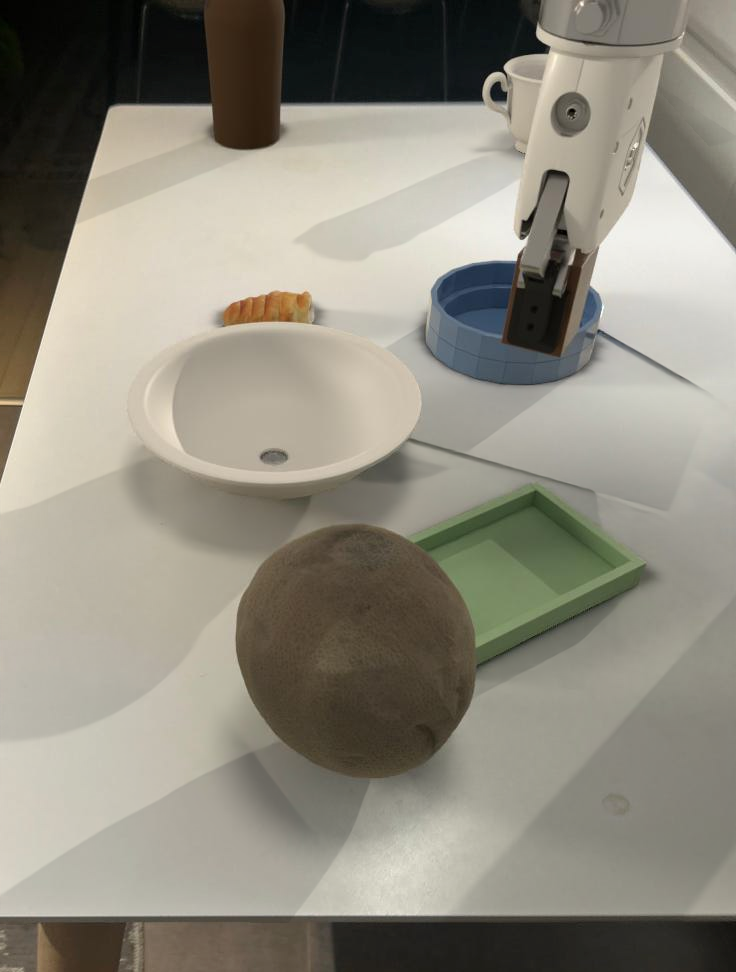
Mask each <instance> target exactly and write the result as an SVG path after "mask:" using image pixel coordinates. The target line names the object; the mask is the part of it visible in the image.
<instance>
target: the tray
mask: <svg viewBox="0 0 736 972" xmlns="http://www.w3.org/2000/svg"><path fill="white" fill-rule="evenodd" d="M405 538H406V539H408V540H410V541H411V542H413V543H415V544H416V545H418V546H419V547H421V548H422V549H423V550H425V551H426V552H427V553H428V554H429V555H430V556H431V557H432V558H433V559H434V560H435V561H436V562H437V563H438V565H439V566H440V567H441V568H442V569H443V571H444V572H445V573H446V574H447V575H448V577H449V578H450V580H451V581H452V582H453V584H454V585H455V587H456V588H457V589H458V591H459V592H460V594H461V596H462V598H463V600H464V602H465V604H466V606H467V608H468V611H469V614H470V617H471V620H472V623H473V627H474V631H475V643H476V665H477V666H479V665H481V664H483V663H485V662H487V661H489V660H491V659H493V658H495V657H497V656H499V655H501V654H503V653H505V652H507V651H509V650H511V649H513V648H515V647H517V646H518V644H519V645H520V643H521V642H523V641H525V640H527V639H529V638H531V637H533V636H535V635H537V634H539V633H540V634H542V633H544V632H546V631H548V630H550V629H552V628H554V627H556V626H558V625H560V624H562V623H564V622H566V621H568V620H570V619H572V618H574V617H576V616H578V615H580V614H582V613H583V611H584V612H586V611H588V610H590V609H592V608H594V607H596V606H597V604H598V605H599V604H601V603H603V601H604V602H606V601H607V600H609V599H612V598H613V597H616V596H617V595H619V594H621V593H623V592H625V591H627V590H629V589H631V588H633V587H635V586H637V585H638V584H640V582H641V579H642V576H643V574H644V571H645V570H646V569H645V568H646V566H647V562H646V561H644V559H642V558H640V557H639V556H638V555H637V554H635V553H634V552H633V551H631V550H630V549H629V548H627V547H626V546H624V545H623V544H622V543H620V542H619V541H618V540H616V539H615V538H614V537H612V536H611V535H610V534H608V533H607V532H605V531H604V530H603V529H602V528H600V527H599V526H598V525H596V524H595V523H594V522H592V521H591V520H589V519H588V518H586V516H584V515H582V514H581V513H580V512H579V511H577V510H576V509H574V508H573V507H572V506H571V505H569V504H568V503H566V502H565V501H564V500H562V499H561V498H560V497H559V496H557V495H555V493H553V492H551V490H549V489H547V488H546V487H545V486H544V485H542V484H541V483H540V482H538V481H535V482H533V483H530V484H528V485H526V486H523V487H522V488H519V489H516V490H514V491H512V492H510V493H508V494H505V495H503V496H500V497H498V498H496V499H494V500H491V501H489V502H486V503H485V504H482V505H480V506H478V507H477V506H476V507H475V508H472V509H470V510H468V511H465V512H463V513H460V514H459V515H456V516H454V517H452V518H450V519H447V520H445V521H443V522H440V523H437V524H436V525H433V526H431V527H428V528H427V529H424V530H422V531H419V532H417V533H415V534H413V535H410V536H408V537H405ZM595 605H596V606H595ZM593 606H594V607H593ZM591 607H592V608H591ZM589 608H590V609H589ZM587 609H588V610H587ZM585 610H586V611H585ZM581 612H582V613H581ZM579 613H580V614H579ZM577 614H578V615H577ZM575 615H576V616H575ZM573 616H574V617H573ZM571 617H572V618H571ZM569 618H570V619H569ZM567 619H568V620H567ZM565 620H566V621H565ZM563 621H564V622H563ZM561 622H562V623H561ZM559 623H560V624H559ZM557 624H558V625H557ZM555 625H556V626H555ZM553 626H554V627H553ZM551 627H552V628H551ZM549 628H550V629H549ZM547 629H548V630H547ZM545 630H546V631H545ZM543 631H544V632H543ZM541 632H542V633H541ZM540 634H539V635H540ZM537 636H538V635H537ZM535 637H536V636H535ZM533 638H534V637H533ZM531 639H532V638H531ZM529 640H530V639H529ZM527 641H528V640H527ZM525 642H526V641H525ZM523 643H524V642H523ZM521 644H522V643H521ZM516 645H517V646H516ZM514 646H515V647H514ZM512 647H513V648H512ZM510 648H511V649H510ZM508 649H509V650H508ZM506 650H507V651H506ZM504 651H505V652H504ZM502 652H503V653H502ZM500 653H501V654H500ZM498 654H499V655H498ZM496 655H497V656H496ZM494 656H495V657H494ZM492 657H493V658H492ZM490 658H491V659H490ZM488 659H489V660H488ZM486 660H487V661H486ZM484 661H485V662H484ZM482 662H483V663H482ZM480 663H481V664H480ZM478 664H479V665H478Z"/></svg>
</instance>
